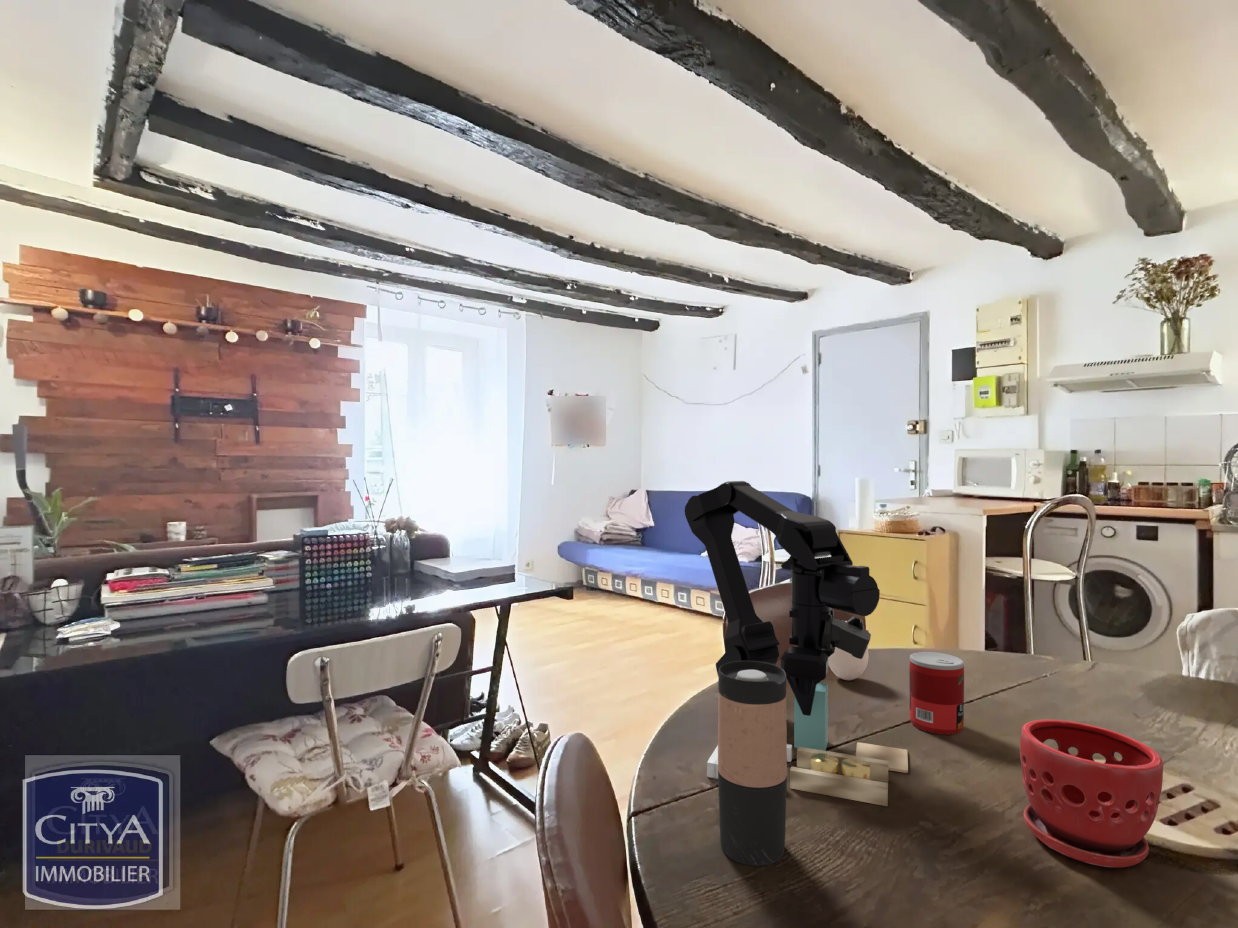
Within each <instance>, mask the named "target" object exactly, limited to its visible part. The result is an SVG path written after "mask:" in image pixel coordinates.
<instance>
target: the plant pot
mask: <svg viewBox="0 0 1238 928" xmlns="http://www.w3.org/2000/svg"><path fill="white" fill-rule="evenodd" d="M1020 731H1021V732H1020V741H1019V757H1020V758H1019V759H1020V765H1021V770H1022V783H1023V788H1024V789H1025V790H1024V791H1025V794H1026V796H1027V799H1028V800H1029V804H1028V805H1027V806H1025V807H1024V810H1023V821H1024V822H1025V825H1026V826H1027V828H1028V829H1029V830H1030V832H1031V833H1032V834H1033V835H1034V836H1035V837H1036V838H1037V839H1039V840H1040V841H1041V842H1042V843H1043V844H1045V845H1046V846H1047V848H1049V849H1052V850H1054V851H1056V852H1058V853H1060V854H1062V855H1063V856H1066V857H1069V858H1071V859H1074V860H1076V861H1079V862H1082V863H1085V864H1089V865H1094V866H1099V867H1104V868H1128V867H1132V866H1136V865H1137V864H1139V863H1141V862H1143V861H1144V860H1145V859H1146V858H1147V856H1148V854H1149V851H1150V848H1149V844H1148V841H1147V840H1146V838H1145V836H1146V835H1147V833H1148V832H1149V831H1150V829H1151V828H1152V826H1153V824H1154V821H1155V819H1156V816H1157V813H1158V809H1159V805H1160V804H1159V802H1160V797H1161V794H1162V790H1163V777H1164V775H1163V774H1164V762H1163V759H1162V757H1161V755H1160V754H1159V753H1158V752H1157V751H1156V750H1154V749H1153V748H1152V747H1150V746H1149V745H1147V744H1145V743H1144V742H1141V741H1140V740H1137V739H1136V738H1132V737H1130V736H1128V735H1126V734H1123V733H1120V732H1117V731H1114V730H1112V729H1111V730H1110V729H1109V728H1104V727H1102V726H1097V725H1093V724H1088V723H1083V722H1077V721H1071V720H1064V719H1049V718H1048V719H1037V720H1031V721H1029V722H1025V724H1023V725H1022V727H1021V730H1020ZM1047 740H1053V741H1055V742H1056V744H1057V749H1056V748H1053V747H1051V746H1048V745H1047V744H1045V742H1046V741H1047ZM1070 748H1075V749H1076V750H1077V753H1075V754H1072V753H1070V751H1069V749H1070ZM1115 753H1118V754H1119V755H1120V756H1121V760H1118V759H1117V758H1116V756H1115ZM1095 754H1099V755H1101V756H1102V757H1103V758H1105V762H1099V761H1095V760H1094V758H1093V757H1094V755H1095Z"/></svg>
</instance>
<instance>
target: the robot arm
mask: <svg viewBox="0 0 1238 928" xmlns="http://www.w3.org/2000/svg"><path fill="white" fill-rule="evenodd" d="M739 512H740V513H742V514H743V515H745V516H746V517H748V518H750V519H751V520H753V521H754V522H756V523H757V524H759V525H760V526H761V527H763V528H764V529H767V530H768V531H770V532H772V533H773V535H774V536H775V538H776V541H777V544H779V546H780V547H781V548H782V549H783V550H784V551H785V552H786V553H787V554H788V555H789V557H788V559H786V560H785V561H784V562H783V563H781V566H780V567H781V569H783V570H787V571H791V607H790V608H789V616H788V617H789V618H791V634H790V636H789V641H788V643H789V645H792V646H790V647H789V648H787V649H786V650H785V651H784V652H783V653H782V656H781V657H780V649H779V647H778V646H780V642H779V640H778V639H777V636H776V634H775V633H776V632H775V629H774V626H773V624H772V621H763V620H762V619H761V618H760V617H759V616H758V615H757V613H756V610H755V607H754V604H753V600H752V598H751V596H750V591H749V588H748V585H747V582H746V579H745V576H744V573H743V569H742V567H741V563H740V560H739V557H738V554H737V551H736V548H735V544H734V542H733V539H732V535H733V531H734V528H735V527H734V526H735V523H736V521H735V515H736V514H738V513H739ZM684 516H685V518H686V519H685V520H686V521H687V523H688V526H689V528H690V530H691V533H692V534H693V535H694V536H695V537H696V539H698V541H700V542H701V543H702V544H703V545H704V547H705V550H706V553H707V557H708V560H709V563H710V567H711V570H712V573H713V577H714V580H715V583H716V586H717V589H718V592H719V594H718V595H719V596H720V597H719V598H720V599H721V603H722V607H723V610H724V613H725V617H726V619H727V626H726V630H725V631H726V632H725V635H724V644H725V653H724V654H723V655H722V656H721V657H720V658H718V660H717V662H716V663H715V669H716V673H717V675H718V674H719V668H720V667H721V666H722V665H724V664H726V663H729V662H734V661H759V662H765V663H770V664H773V665H776V666H777V662H778V659H779V658H780V668H782V669H783V670H784V671H785V673H786V681H787V683H788V684H789V686H790V688H791V690H792V693H793V696H794V695H795V697H796V700H797V702H798V704H799V707H800V709H801V711H802V714H803V715H807V716H810V715H811V711H812V706H813V701H814V696H815V691H816V686H817V684H818V683H821V682H822V681H824V680H825V679H826V678H827V676H828V672H829V665H828V658H829V657H830V656H831V655H832V654H833V653H834V651H835V647H837V648H839V649H841V650H843V651H845V652H848V653H850V654H852V656H853V657H856V658H858V659H862V658H863V656H864V653H865V651H866V649H867V646H869V644H870V641H871V637H872V634H871V632H869V630H868V629H865V628H864V627H865V626H864V619H862V618H860V617H857V616H861V617H868V616H870V615H872V613H874V611H875V610H876V608H877V606H878V605H879V604H878V603H879V602H880V595H881V592H880V588H879V587H878V586H879V585H878V583H877V581H876V580H875V578H874V577H873V576H871V575H870V568H869V566H865V565H853V564H854V563H853V560H852V559H851V557H850V555H849V553H848V551H847V549H846V548H845V545H844V544H843V542H842V540H841V538H840V537H839V534H838V533H837V527H836V526H835V524H834V523H833V522H831V520H828V519H825V518H822V517H819V516H816V515H812V514H807V513H802V512H798V511H795V510H792V509H790V508H789V507H787V506H785V505H784V504H782V503H780V502H779V501H777V500H775V499H774V498H772V497H771V496H768V495H767V494H765V493H764V492H761V491H760V490H758V489H757V488H754V487H753V486H752V485H751V484H750V482H747V481H744V480H733V481H732V480H731V481H729V480H727V481H725V482H724V483H721V484H719V485H718V486H717V487H715V488H711V489H709V490H707V491H704V492H702V493H700V494H698V495H697V494H696V495H693V496H691V497H690V498H689V499H687V503H686V504H685V506H684ZM835 610H837V611H841V612H845V613H850V614H853V616H851V617H850V618H849V619H848V620H844V619H842V620H841V619H839V618H836V617H835ZM855 615H856V616H855ZM845 621H847V622H845Z"/></svg>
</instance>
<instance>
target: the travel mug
mask: <svg viewBox="0 0 1238 928" xmlns="http://www.w3.org/2000/svg"><path fill="white" fill-rule="evenodd" d="M717 677H718V682H717V683H718V684H717V685H718V688H717V689H718V695H717V696H718V697H717V700H718V702H717V704H718V705H717V745H718V779H717V786H718V790H717V791H718V811H719V814H718V815H719V817H718V818H719V819H718V821H719V839H720V840H719V841H720V847H721V850H722V852H723V853H724V854H725V856H727V857H728V858H729V859H731V860H733V861H735V862H737V863H739V864H742V865H747V866H751V867H752V866H753V867H754V866H755V867H765V866H769V865H772V864H775V863H777V862H778V861H780V860H782V858H783V856H784V854H785V845H786V822H787V821H786V817H787V787H788V762H787V744H788V743H787V739H788V738H787V737H788V735H787V734H788V733H787V678H786V673H785V671H784V670H783V669H782V668H781V666H778V665H777V664H776V665H773V664H770V663H765V662H759V661H734V662H729V663H726V664H724V665H722V666H721V667H720V668H719V674H717Z"/></svg>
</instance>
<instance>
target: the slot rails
mask: <svg viewBox="0 0 1238 928" xmlns="http://www.w3.org/2000/svg"><path fill="white" fill-rule="evenodd" d="M818 753H824V754H829V755H832V756H834V757H836V758H837V759H838V774H833V773H827V772H821V771H815V770H811V756H812V755H813V754H818ZM848 758H855V759H860V760H863V761H865V762H867V763H868V764H869V765H870V780H867V779H861V778H856V777H850V776H844V775H841V762H842V760H844V759H848ZM888 788H889V770H888V761H885V760H879V759H873V758H867V757H861V756H855V755H854V754H848V753H842V752H841V753H840V752H836V751H835V752H834V751H830V750H829V751H828V750H826V751H823V750H817V749H811V748H805V747H798V748H796V766H791V767H790V769H789V789H793V790H798V791H803V792H807V793H812V794H820V795H824V796H830V797H835V798H841V799H846V800H852V801H856V802H857V801H858V802H862V803H863V802H864V803H868V804H871V805H872V804H873V805H878V806H883V807H888V803H889V802H888V801H889V796H888V795H889V794H888V793H889V791H888V790H889V789H888Z"/></svg>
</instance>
